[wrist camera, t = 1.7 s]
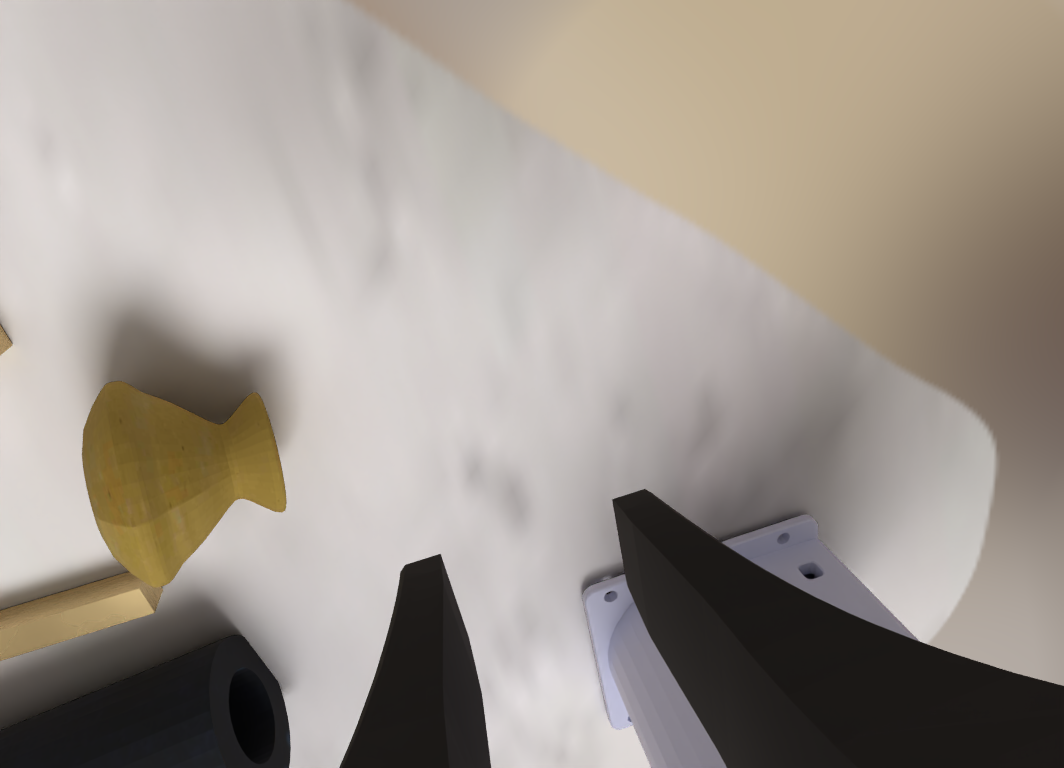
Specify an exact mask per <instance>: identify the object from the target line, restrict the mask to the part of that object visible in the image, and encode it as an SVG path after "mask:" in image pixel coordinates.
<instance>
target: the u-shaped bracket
mask: <svg viewBox="0 0 1064 768" xmlns="http://www.w3.org/2000/svg"><path fill="white" fill-rule="evenodd" d="M11 346H12V343H11V342H10V340H9V338H8V337H7V335H6V333H5V332H4V330H3V329H2V327H1V325H0V355H1V354H2V353H4V352H5V351H6V350H7V349H9V348H10V347H11ZM162 591H163V589H162V587H156V588H154V587H152V586H150V585H148V584H146V583H145V582H143V581H142V580H140V579H139V578H137V577H136V576H134V575H133V574H132V573H130V572H126V573H123V574H120V575H116V576H113V577H110V578H107V579H103V580H100V581H97V582H93V583H90V584H87V585H83V586H80V587H77V588H73V589H70V590H67V591H64V592H60V593H57V594H54V595H50V596H47V597H44V598H40V599H37V600H34V601H30V602H27V603H24V604H21V605H17V606H14V607H11V608H7V609H4V610H1V611H0V661H2V660H5V659H8V658H11V657H14V656H18V655H21V654H24V653H27V652H30V651H34V650H37V649H40V648H43V647H47V646H50V645H53V644H56V643H59V642H63V641H66V640H69V639H72V638H75V637H79V636H82V635H85V634H88V633H92V632H95V631H98V630H101V629H104V628H108V627H111V626H114V625H117V624H120V623H124V622H127V621H130V620H133V619H137V618H140V617H143V616H146V615H149V614H153V613H155V611H156V608H157V605H158V603H159V600H160V597H161V594H162Z"/></svg>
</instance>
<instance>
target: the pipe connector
mask: <svg viewBox="0 0 1064 768" xmlns="http://www.w3.org/2000/svg"><path fill="white" fill-rule="evenodd" d="M290 748H291V747H290V730H289V723H288V716H287V712H286V707H285V702H284V699H283V696H282V692H281V689H280V686H279V684H278V681H277V680H276V678H275V677H274V676H273V674H272V673H271V672H270V670H269V669H268V668H267V666H266V665H265V664H264V662H263V661H262V660H261V658H260V657H259V656H258V654H257V653H256V652H255V650H254V649H253V648H252V646H251V645H250V644H249V642H248V641H247V640H246V639H245V637H243V636H237V635H233V636H230V637H227V638H225V639H222V640H220V641H217V642H215V643H213V644H210V645H208V646H205V647H203V648H200V649H198V650H196V651H193V652H191V653H188V654H186V655H183V656H181V657H179V658H176V659H174V660H171V661H169V662H166V663H164V664H161V665H159V666H157V667H154V668H152V669H149V670H147V671H144V672H142V673H140V674H137V675H135V676H132V677H130V678H127V679H125V680H123V681H120V682H118V683H115V684H113V685H110V686H108V687H105V688H103V689H101V690H98V691H96V692H93V693H91V694H88V695H86V696H84V697H81V698H79V699H76V700H74V701H71V702H69V703H67V704H64V705H62V706H59V707H57V708H54V709H52V710H49V711H47V712H45V713H42V714H40V715H37V716H35V717H32V718H30V719H28V720H25V721H23V722H20V723H18V724H15V725H13V726H11V727H8V728H6V729H3V730H1V731H0V768H289V764H290Z"/></svg>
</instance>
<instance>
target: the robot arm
mask: <svg viewBox="0 0 1064 768" xmlns="http://www.w3.org/2000/svg"><path fill="white" fill-rule="evenodd" d="M612 501H613V507H614V512H615V518H616V524H617V530H618V536H619V542H620V547H621V553H622V559H623V565H624V571H625V574H623V575H620V576H617V577H614V578H611V579H608V580H605V581H602V582H599V583H596V584H593V585H591V586H589V587H588V588H587V589H586V590H585V591H584V593H583V595H582V599H583V604H584V609H585V613H586V618H587V622H588V627H589V632H590V636H591V641H592V646H593V650H594V655H595V659H596V664H597V669H598V673H599V678H600V682H601V687H602V692H603V696H604V701H605V706H606V710H607V715H608V719H609V722H610V724H611V726H612V727H613V728H614V729H624V728H627V727H629V726H632V725H633V726H634V729H635V731H636V733H637V736H638V738H639V740H640V743H641V745H642V747H643V750H644V752H645V754H646V757H647V759H648V761H649V764H650V766H651V768H1064V686H1062V685H1057V684H1054V683H1050V682H1046V681H1042V680H1038V679H1035V678H1031V677H1027V676H1023V675H1020V674H1016V673H1012V672H1009V671H1006V670H1003V669H999V668H996V667H993V666H990V665H987V664H984V663H981V662H978V661H974V660H971V659H968V658H965V657H962V656H959V655H956V654H953V653H950V652H947V651H944V650H941V649H938V648H936V647H933V646H930V645H927V644H925V643H922V642H920V641H919V640H918V639H917V638H916V637H915V636H914V635H913V634H912V633H911V632H910V631H909V630H908V629H907V628H906V627H905V626H904V625H903V624H902V623H901V622H900V621H899V620H898V619H897V618H896V617H895V616H894V615H893V614H892V613H891V612H890V611H889V610H888V609H887V608H886V607H885V606H884V605H883V604H882V603H881V602H880V601H879V600H878V599H877V598H876V597H875V596H874V595H873V594H872V593H871V592H870V590H869V589H868V588H867V587H866V586H865V585H864V584H863V583H862V582H861V581H860V580H859V579H858V578H857V577H856V576H855V575H854V574H853V573H852V572H851V571H850V570H849V569H848V568H847V567H846V566H845V565H844V564H843V563H842V562H841V561H840V560H839V559H838V558H837V557H836V556H835V555H834V554H833V553H832V552H831V551H830V550H829V549H828V548H827V547H826V546H825V545H824V544H823V543H822V542H821V541H820V540H819V539H818V523H817V522H816V521H815V520H814V519H813V518H812V517H811V516H810V515H807V514H806V515H801V516H798V517H795V518H792V519H789V520H786V521H783V522H780V523H777V524H774V525H771V526H768V527H765V528H762V529H759V530H756V531H753V532H750V533H747V534H744V535H741V536H738V537H735V538H732V539H729V540H726V541H723V542H720V541H719V540H717V539H715V538H714V537H712V536H711V535H710V534H708V533H707V532H705V531H704V530H702V529H701V528H699V527H698V526H696V525H695V524H694V523H692V522H691V521H689V520H688V519H686V518H685V517H684V516H682V515H681V514H679V513H678V512H677V511H675V510H674V509H673V508H671V507H670V506H669V505H667V504H666V503H664V502H663V501H662V500H660V499H659V498H658V497H656V496H655V495H654V494H652V493H651V492H649V491H647V490H646V489H644V490H640V491H637V492H634V493H631V494H628V495H625V496H622V497H618V498H615V499H612ZM781 534H782V535H781ZM780 535H781V536H780ZM779 536H780V537H779ZM610 591H612V593H610V594H607V595H606V593H608V592H610ZM339 768H491V763H490V755H489V747H488V739H487V731H486V723H485V715H484V707H483V699H482V693H481V688H480V684H479V680H478V675H477V671H476V666H475V662H474V658H473V654H472V649H471V645H470V641H469V637H468V634H467V631H466V628H465V625H464V622H463V619H462V616H461V613H460V610H459V607H458V604H457V601H456V599H455V596H454V593H453V590H452V587H451V584H450V581H449V578H448V575H447V572H446V569H445V566H444V563H443V560H442V557H441V554H438V555H435V556H432V557H429V558H426V559H423V560H420V561H416V562H413V563H410V564H407V565H405V566H404V568H403V569H402V571H401V573H400V580H399V586H398V592H397V597H396V602H395V606H394V610H393V614H392V618H391V622H390V626H389V630H388V634H387V637H386V641H385V644H384V647H383V651H382V654H381V657H380V661H379V664H378V668H377V671H376V674H375V677H374V680H373V683H372V686H371V688H370V691H369V694H368V697H367V699H366V702H365V705H364V708H363V710H362V713H361V716H360V719H359V721H358V724H357V727H356V729H355V732H354V734H353V737H352V739H351V742H350V744H349V747H348V749H347V751H346V754H345V756H344V758H343V761H342V763H341V765H340V767H339Z"/></svg>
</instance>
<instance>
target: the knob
mask: <svg viewBox="0 0 1064 768" xmlns="http://www.w3.org/2000/svg"><path fill="white" fill-rule="evenodd" d="M82 460H83V469H84V475H85V481H86V486H87V490H88V495H89V499H90V503H91V507H92V510H93V514H94V517H95V520H96V523H97V526H98V529H99V531H100V533H101V536H102V537H103V539H104V541H105V543H106V544H107V546H108V548H109V550H110V551H111V553H112V555H113V557H114V558H115V559H116V560H118V561H119V562H120V563H121V564H122V565H123V566H124V567H125V568H126V569H127V570H128V571H129V572H130V573H132V574H133V575H134V576H136V577H137V578H139V579H140V580H142V581H143V582H145V583H146V584H148V585H150V586H152V587H154V588H156V587H161V586H164V585H166V584H168V583H170V582H171V581H172V580H173V578H174V577H175V575H176V574H177V572H178V571H179V569H180V567H181V566H182V564H183V563H184V562H185V561H186V560H187V559H188V558H189V557H190V556H191V555H192V554H193V553H194V552H195V551H196V549H197V548H198V547H199V546H200V545H201V544H202V543H203V541H204V540H205V539H206V538H207V536H208V535H209V534H210V532H211V531H212V530H213V528H214V527H215V526H216V524H217V523H218V522H219V520H220V519H221V518H222V516H223V515H224V514H225V512H226V511H227V510H228V508H229V507H230V506H231V505H232V504H233V503H234V501H235V500H238V499H247V500H250V501H252V502H254V503H256V504H259V505H261V506H263V507H265V508H268V509H270V510H272V511H275V512H283V511H285V509H286V491H285V484H284V478H283V472H282V467H281V462H280V458H279V454H278V449H277V445H276V441H275V437H274V434H273V430H272V427H271V423H270V420H269V417H268V414H267V411H266V408H265V406H264V403H263V401H262V399H261V397H260V396H259V394H258V393H252V394H250V395H249V396H247V398H246V399H245V400H244V401H243V402H242V403H241V405H240V406H239V407H238V408H237V410H236V411H235V412H234V413H233V415H232V416H231V417H230V418H229V419H228V420H227V421H226V422H225V423H223V424H215V423H212V422H209V421H207V420H205V419H203V418H201V417H199V416H197V415H195V414H193V413H191V412H189V411H187V410H185V409H183V408H181V407H179V406H177V405H175V404H173V403H170V402H168V401H165V400H163V399H160V398H158V397H155V396H151V395H148V394H146V393H143V392H141V391H139V390H137V389H136V388H134V387H132V386H131V385H129V384H127V383H125V382H122V381H115V382H110V383H107V384H106V385H105V386H104V387H103V388H102V390H101V391H100V393H99V395H98V397H97V399H96V400H95V402H94V404H93V406H92V408H91V411H90V413H89V416H88V419H87V422H86V424H85V427H84V430H83V447H82Z"/></svg>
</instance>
